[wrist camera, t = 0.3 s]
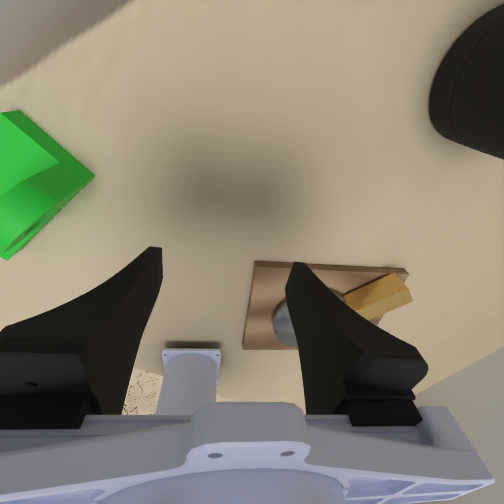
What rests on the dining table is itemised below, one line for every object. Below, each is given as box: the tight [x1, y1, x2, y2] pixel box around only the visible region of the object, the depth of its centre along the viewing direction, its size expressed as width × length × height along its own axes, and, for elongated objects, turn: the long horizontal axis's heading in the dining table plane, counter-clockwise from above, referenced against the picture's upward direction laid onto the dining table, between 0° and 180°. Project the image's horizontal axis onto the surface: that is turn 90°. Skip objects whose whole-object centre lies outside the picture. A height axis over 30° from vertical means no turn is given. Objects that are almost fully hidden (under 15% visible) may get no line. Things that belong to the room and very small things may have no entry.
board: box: [242, 261, 409, 350], centre depth 31 cm, size 15×18×4 cm
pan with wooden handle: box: [272, 272, 413, 348], centre depth 29 cm, size 16×10×3 cm, turn 123°
